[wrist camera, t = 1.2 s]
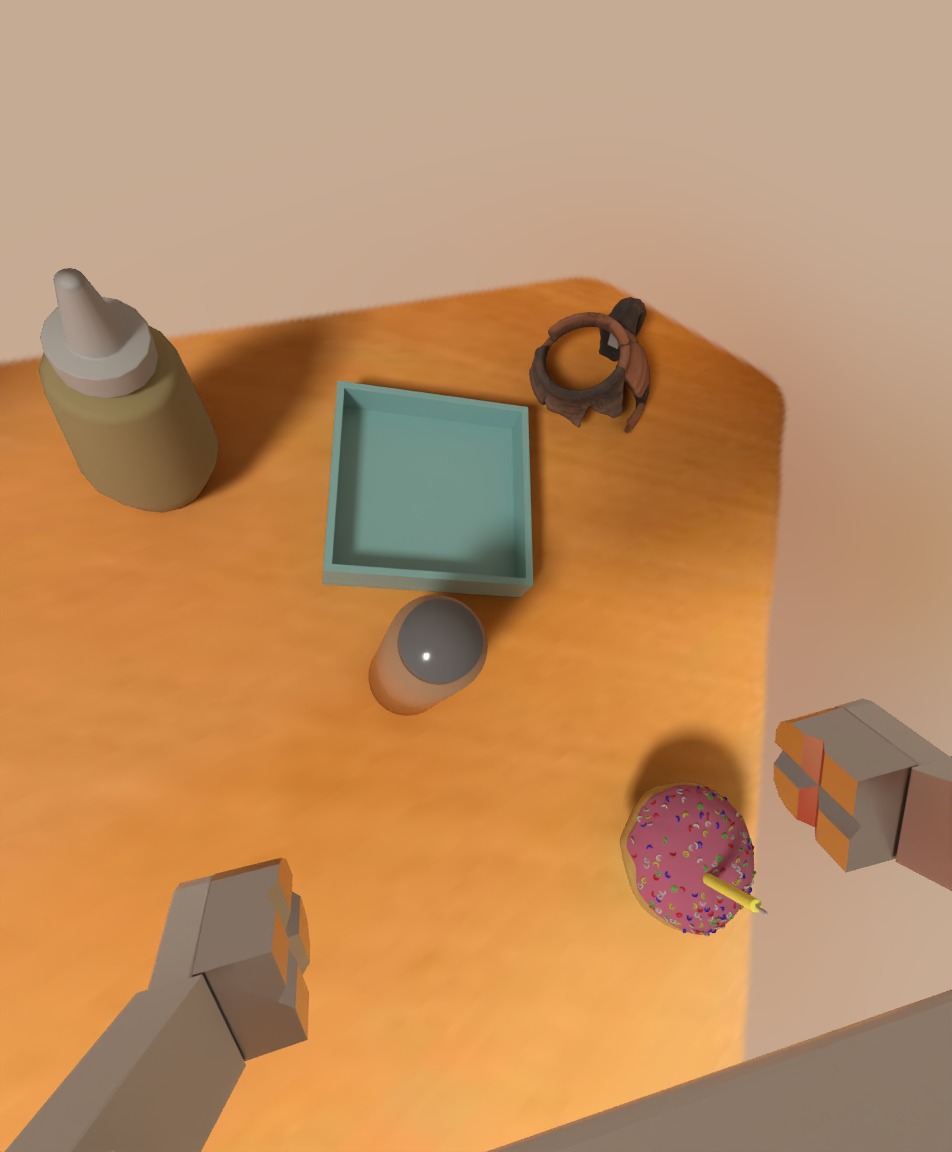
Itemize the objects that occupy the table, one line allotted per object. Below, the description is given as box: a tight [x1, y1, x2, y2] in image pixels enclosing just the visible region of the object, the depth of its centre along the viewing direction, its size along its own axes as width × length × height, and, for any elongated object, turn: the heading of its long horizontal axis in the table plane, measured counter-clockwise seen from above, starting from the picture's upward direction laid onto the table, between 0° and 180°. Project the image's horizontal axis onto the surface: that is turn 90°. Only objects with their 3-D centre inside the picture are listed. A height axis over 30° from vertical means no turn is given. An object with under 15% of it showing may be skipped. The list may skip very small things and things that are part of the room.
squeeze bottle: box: [39, 268, 219, 512], centre depth 35 cm, size 8×8×18 cm
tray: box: [322, 381, 533, 597], centre depth 46 cm, size 14×14×3 cm
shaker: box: [369, 595, 487, 716], centre depth 38 cm, size 5×5×12 cm
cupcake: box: [620, 782, 768, 936], centre depth 38 cm, size 9×8×12 cm
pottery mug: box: [529, 297, 650, 433], centre depth 52 cm, size 12×10×8 cm
